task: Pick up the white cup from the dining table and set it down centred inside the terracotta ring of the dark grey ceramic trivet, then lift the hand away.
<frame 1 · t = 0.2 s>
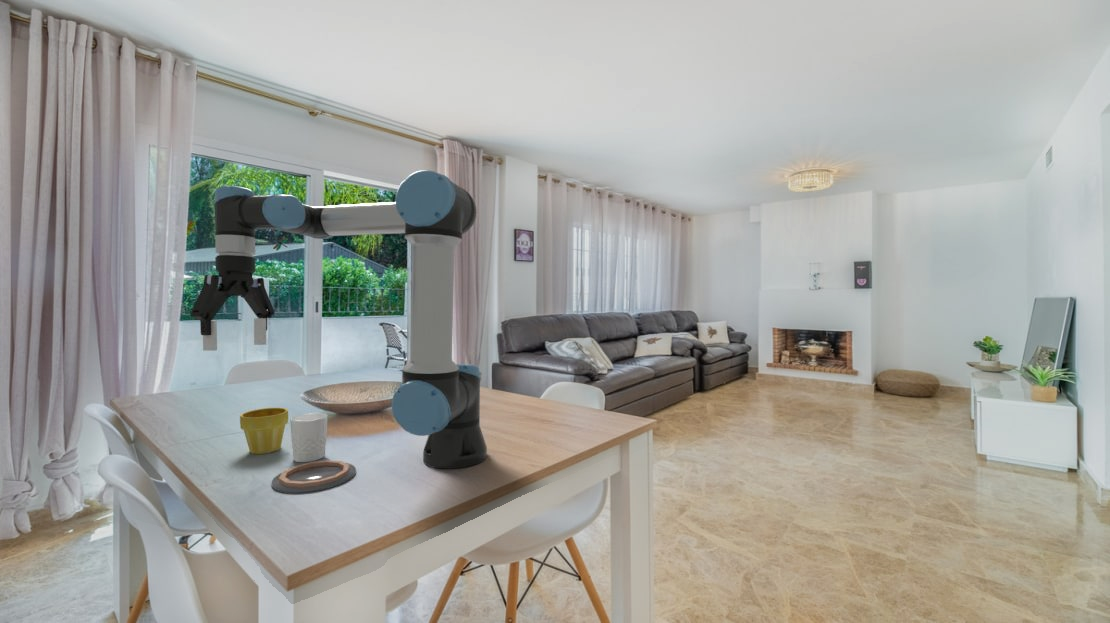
hand: (236, 347, 105), 27 cm above the table, fingers open, 13 cm apart
white cup: (309, 458, 110), on the table
plant pot: (264, 450, 115), on the table
trivet: (315, 477, 98), on the table
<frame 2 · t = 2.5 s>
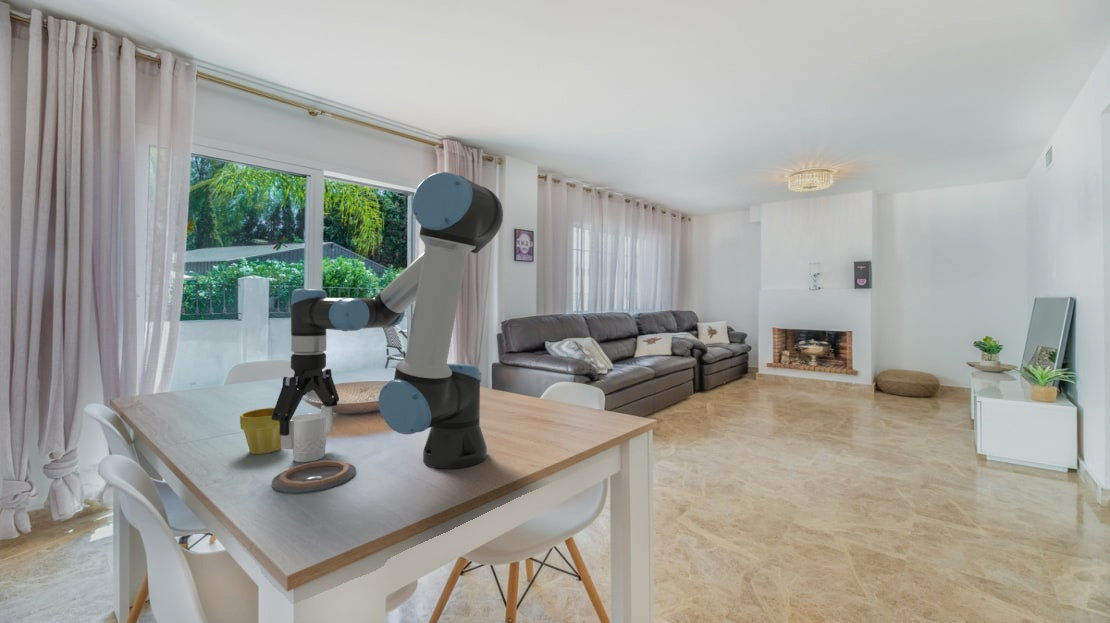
hand: (308, 439, 110), 4 cm above the table, fingers open, 13 cm apart
nothing on the table moved.
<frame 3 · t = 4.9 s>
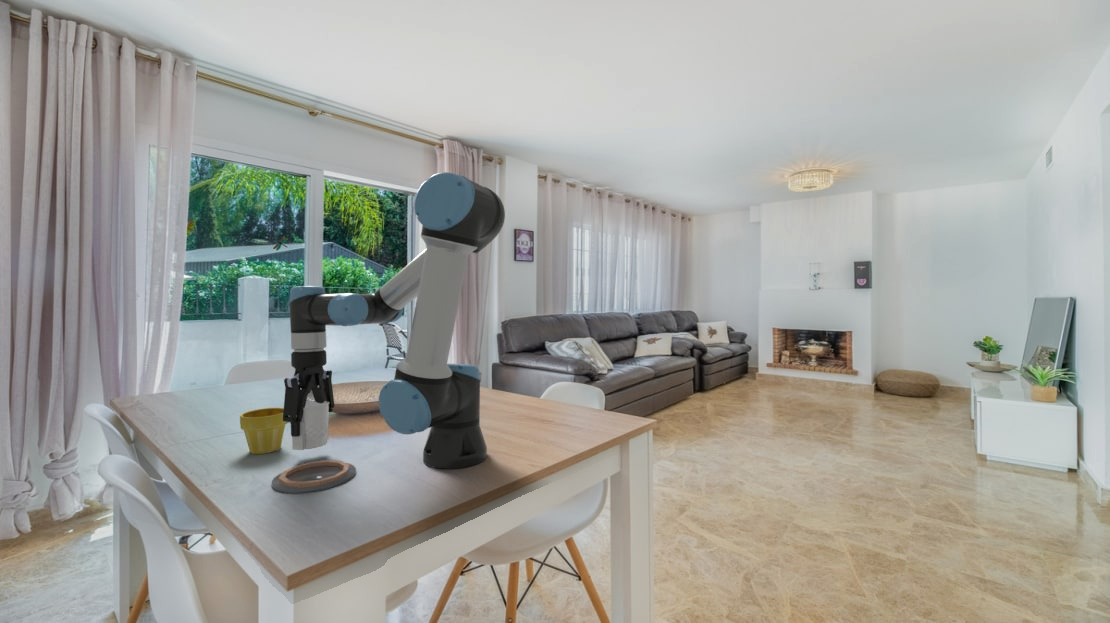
hand: (311, 443, 110), 3 cm above the table, fingers closed on white cup, 7 cm apart
white cup: (311, 446, 110), point 3 cm above the table, touching gripper
everything else where it was.
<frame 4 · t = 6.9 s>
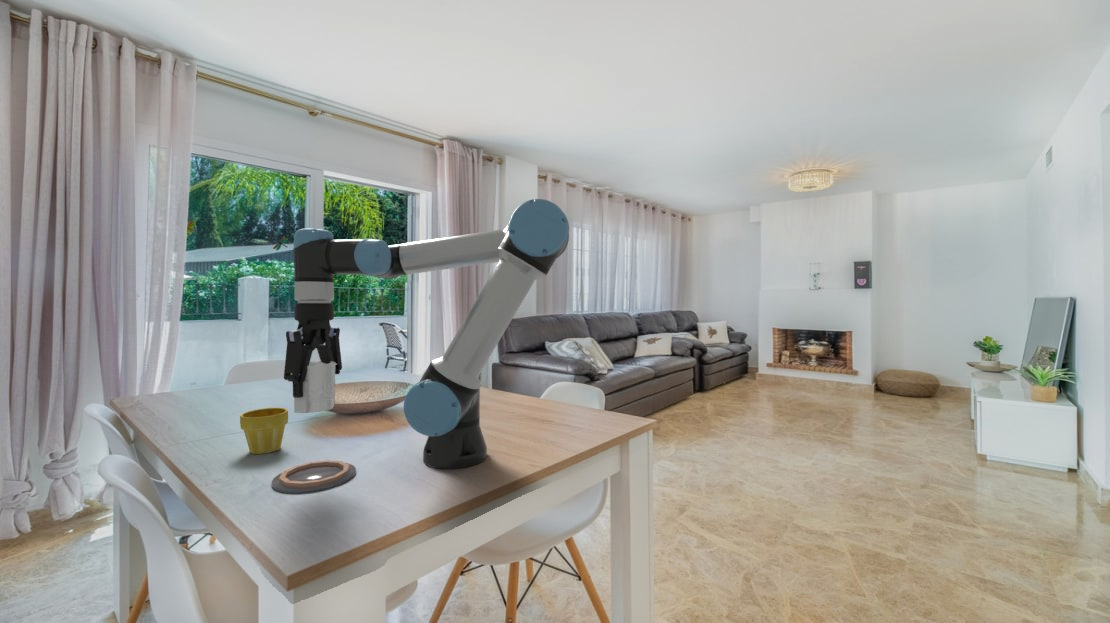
hand: (315, 407, 98), 15 cm above the table, fingers closed on white cup, 7 cm apart
white cup: (315, 410, 98), point 15 cm above the table, touching gripper
everything else where it was.
when the fingers open (3 cm above the table, at t = 9.1 s): white cup drops 2 cm, resting on trivet.
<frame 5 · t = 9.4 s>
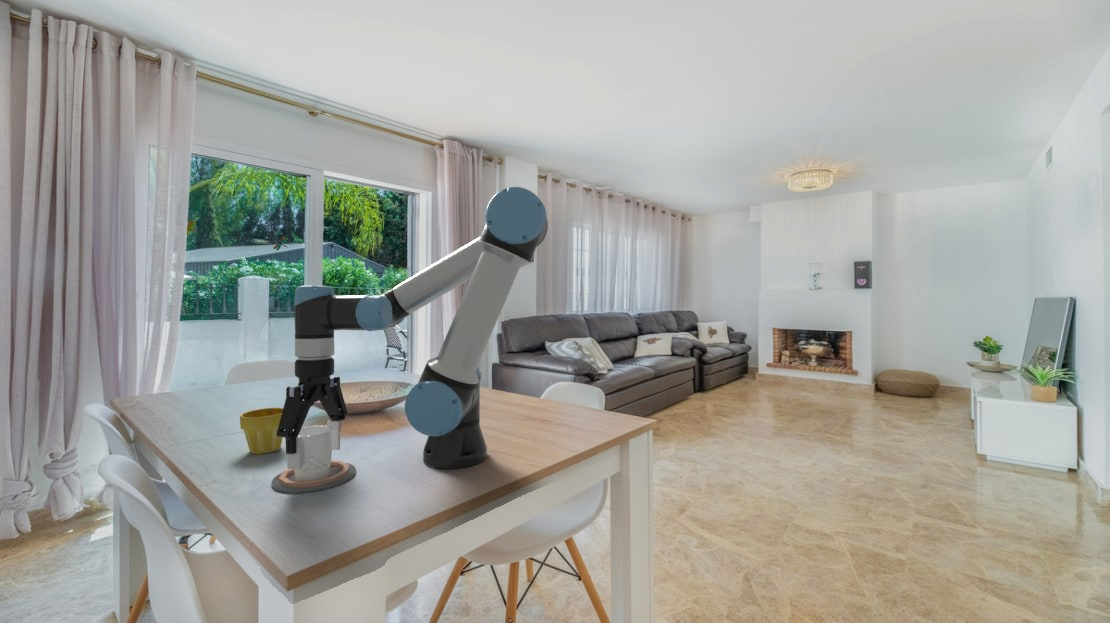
hand: (315, 458, 97), 4 cm above the table, fingers open, 11 cm apart
white cup: (312, 477, 96), resting on trivet
everything else where it was.
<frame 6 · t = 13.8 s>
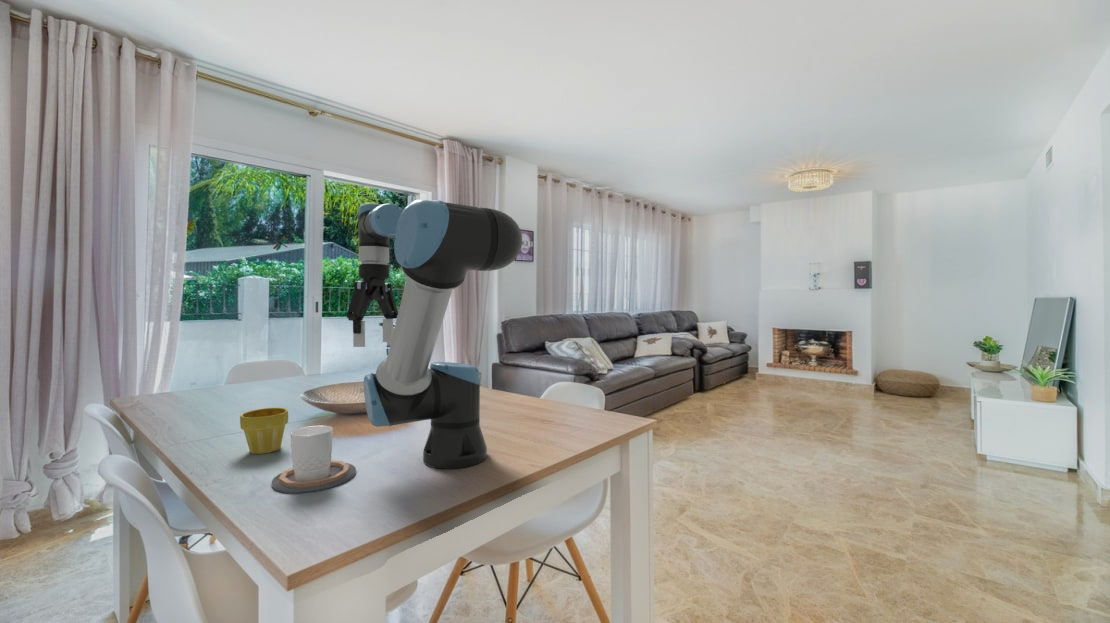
hand: (374, 344, 120), 27 cm above the table, fingers open, 13 cm apart
nothing on the table moved.
at the end: white cup 1.2 cm from the trivet (horizontally); white cup tilted 0°; white cup touching trivet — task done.
